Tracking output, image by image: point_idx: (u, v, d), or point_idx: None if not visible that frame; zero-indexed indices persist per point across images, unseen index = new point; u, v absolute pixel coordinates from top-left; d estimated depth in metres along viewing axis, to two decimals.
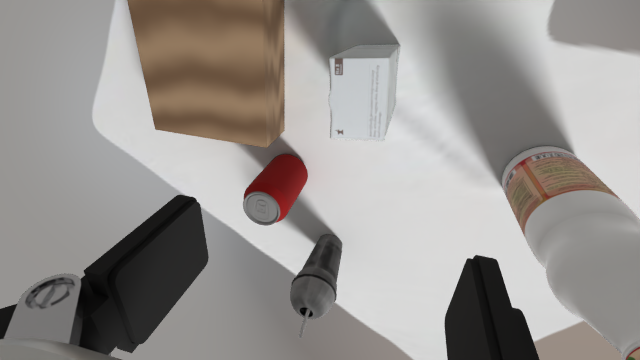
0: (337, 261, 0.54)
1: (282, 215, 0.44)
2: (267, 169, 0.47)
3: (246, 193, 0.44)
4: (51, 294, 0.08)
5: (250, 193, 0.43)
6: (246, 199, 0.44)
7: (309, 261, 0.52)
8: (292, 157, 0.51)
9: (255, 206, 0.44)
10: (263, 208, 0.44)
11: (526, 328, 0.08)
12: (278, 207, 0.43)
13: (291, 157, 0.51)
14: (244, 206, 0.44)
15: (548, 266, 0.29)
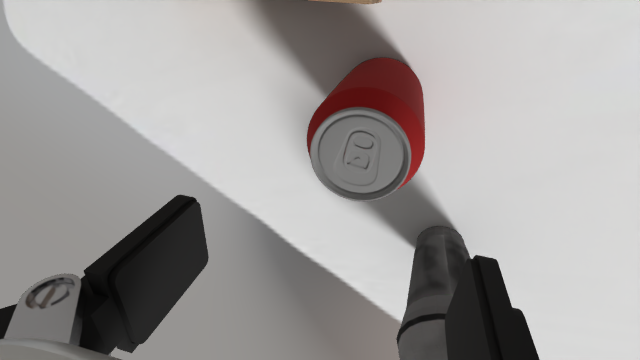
0: None
1: (408, 176, 0.17)
2: (356, 73, 0.20)
3: (319, 118, 0.17)
4: (51, 294, 0.08)
5: (334, 114, 0.16)
6: (320, 132, 0.17)
7: (427, 281, 0.25)
8: (397, 61, 0.24)
9: (343, 151, 0.17)
10: (364, 155, 0.17)
11: (526, 328, 0.08)
12: (410, 150, 0.16)
13: (395, 61, 0.24)
14: (313, 152, 0.17)
15: None
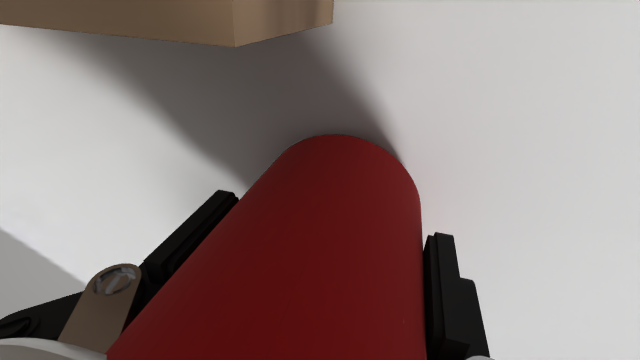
0: None
1: None
2: (250, 214, 0.08)
3: None
4: (115, 282, 0.08)
5: None
6: None
7: None
8: (366, 147, 0.11)
9: None
10: None
11: (475, 295, 0.09)
12: None
13: (363, 147, 0.11)
14: None
15: None
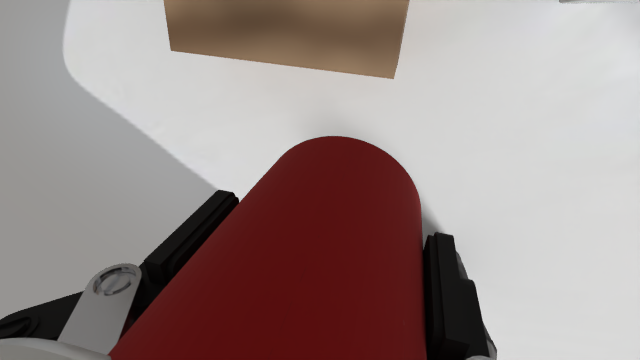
0: None
1: None
2: (250, 216, 0.08)
3: None
4: (115, 282, 0.08)
5: None
6: None
7: None
8: (367, 148, 0.11)
9: None
10: None
11: (475, 295, 0.09)
12: None
13: (363, 148, 0.11)
14: None
15: None
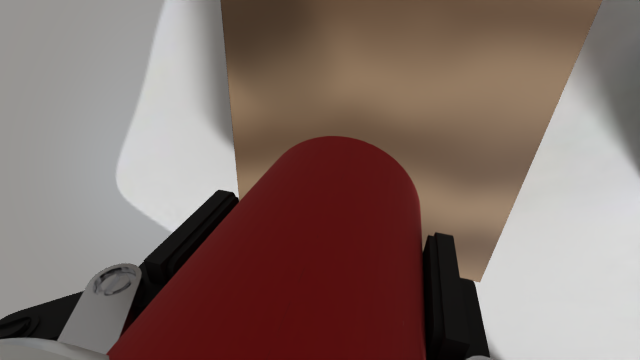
0: None
1: None
2: (249, 216, 0.08)
3: None
4: (115, 282, 0.08)
5: None
6: None
7: None
8: (366, 148, 0.11)
9: None
10: None
11: (475, 295, 0.09)
12: None
13: (362, 148, 0.11)
14: None
15: None
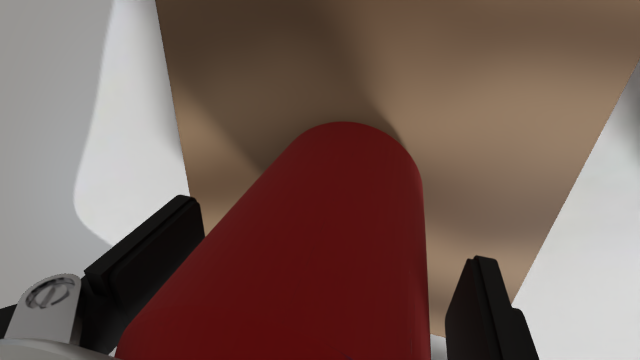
0: None
1: None
2: (271, 186, 0.09)
3: None
4: (51, 294, 0.08)
5: None
6: None
7: None
8: (373, 132, 0.12)
9: None
10: None
11: (526, 328, 0.08)
12: None
13: (369, 132, 0.12)
14: None
15: None
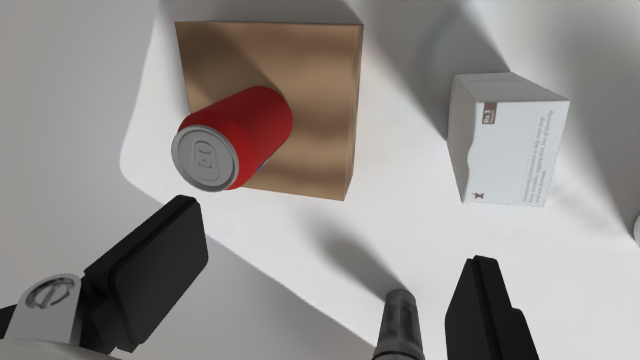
0: (418, 326, 0.45)
1: (243, 172, 0.24)
2: None
3: (177, 133, 0.24)
4: (51, 294, 0.08)
5: (181, 130, 0.23)
6: (176, 143, 0.24)
7: (387, 329, 0.43)
8: (266, 88, 0.31)
9: (194, 156, 0.24)
10: (208, 158, 0.24)
11: (526, 328, 0.08)
12: (233, 153, 0.23)
13: (264, 88, 0.31)
14: (174, 158, 0.24)
15: None
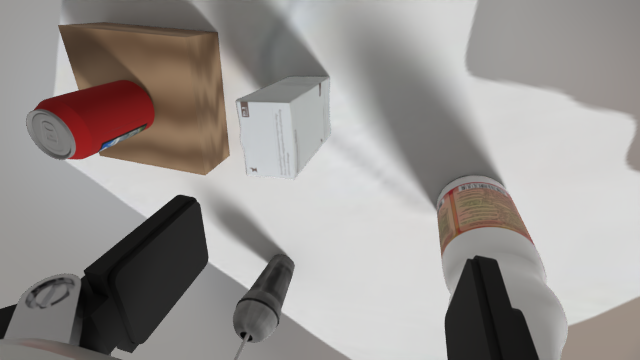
0: (285, 283, 0.54)
1: (81, 145, 0.33)
2: None
3: None
4: (51, 294, 0.08)
5: None
6: (29, 122, 0.32)
7: (256, 283, 0.53)
8: (128, 82, 0.40)
9: (43, 132, 0.33)
10: (52, 134, 0.32)
11: (526, 328, 0.08)
12: (67, 131, 0.32)
13: (126, 82, 0.39)
14: (31, 133, 0.33)
15: None
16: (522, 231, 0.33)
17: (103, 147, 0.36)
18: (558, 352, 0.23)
